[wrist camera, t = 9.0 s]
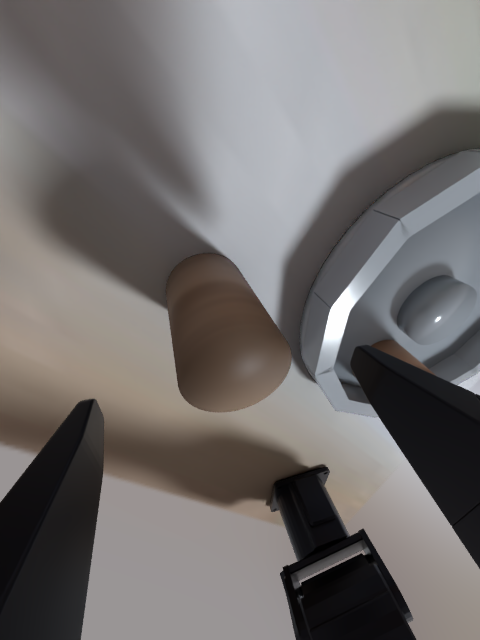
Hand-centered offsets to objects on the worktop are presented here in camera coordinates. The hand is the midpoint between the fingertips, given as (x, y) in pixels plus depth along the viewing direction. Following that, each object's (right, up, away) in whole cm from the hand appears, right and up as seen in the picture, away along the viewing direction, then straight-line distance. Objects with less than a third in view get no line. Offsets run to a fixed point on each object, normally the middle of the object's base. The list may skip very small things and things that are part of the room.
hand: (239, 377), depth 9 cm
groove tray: (+13, +3, +10) cm, 16 cm away
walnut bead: (-2, +3, +5) cm, 6 cm away
